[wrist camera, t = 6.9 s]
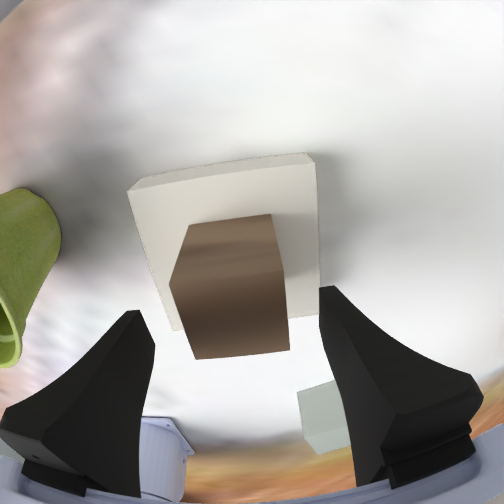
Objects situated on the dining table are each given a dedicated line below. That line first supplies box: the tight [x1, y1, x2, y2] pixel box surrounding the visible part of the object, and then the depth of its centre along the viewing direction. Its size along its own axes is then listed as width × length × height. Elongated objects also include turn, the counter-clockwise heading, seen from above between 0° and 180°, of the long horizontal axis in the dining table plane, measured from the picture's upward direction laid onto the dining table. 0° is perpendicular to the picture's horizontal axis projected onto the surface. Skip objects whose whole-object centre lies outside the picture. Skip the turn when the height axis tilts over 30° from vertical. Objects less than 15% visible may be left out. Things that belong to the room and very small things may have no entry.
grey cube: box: [297, 380, 351, 455], centre depth 24 cm, size 5×5×5 cm
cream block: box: [127, 153, 320, 331], centre depth 17 cm, size 9×9×3 cm
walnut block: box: [169, 214, 290, 360], centre depth 14 cm, size 4×4×5 cm
